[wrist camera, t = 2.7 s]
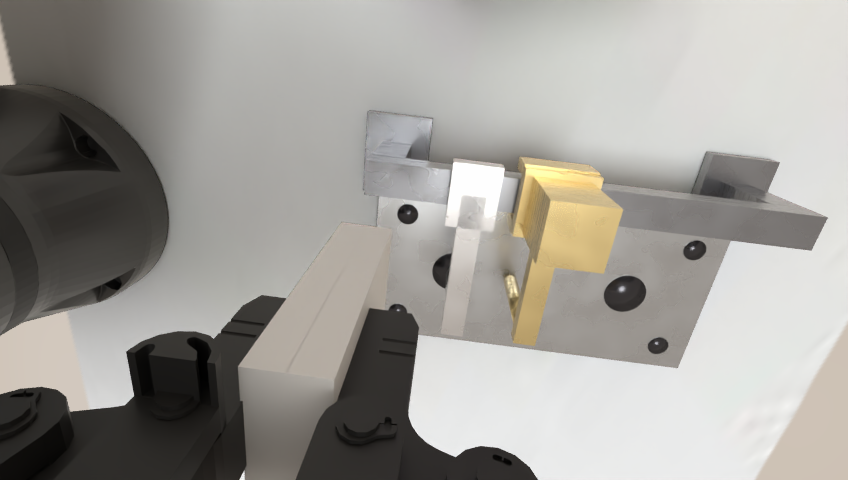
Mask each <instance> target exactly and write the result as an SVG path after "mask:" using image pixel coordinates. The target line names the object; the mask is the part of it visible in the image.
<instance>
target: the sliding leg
mask: <svg viewBox="0 0 848 480" xmlns="http://www.w3.org/2000/svg"><path fill="white" fill-rule="evenodd" d="M517 168H518V170H519V171H520V173H521V175H522V176H521V181H520V186H519V190H518V195H517V200H516V205H515V210H514V213H508V218H507V224H508V227H509V230H510V233H511V234H512V236H514V237H521V238H525V240H526V243H527V245H528V248H529V250H530V252H529V256H528V261H527V265H526V270H525V274H524V278H523V283H522V287H521V292H520V289H519V286H518V282H517V279H516V277H514V276H512V275H509V276H506V277H505V278H504V286H505V290H506V294H507V299H508V303H509V307H510V311H511V316H512V320H513V327H512V332H511V336H512V340H513V343H516V344H523V345H531V346H535V344H536V340H537V336H538V332H539V328H540V324H541V320H542V316H543V312H544V308H545V304H546V300H547V296H548V292H549V288H550V284H551V281H552V277H553V273H554V269H555V268H562V269H569V270H577V271H585V272H593V273H601V274H604V272H605V268H606V265H607V262H608V258H609V255H610V252H611V249H612V245H613V242H614V239H615V235H616V232H617V229H618V226H619V222H620V219H621V216H622V212H623V209H622V208H621V207H620V206H619V205H618V204H617V203H615V202H614V201H613V200H612V199H611V198H610V197H608V196H607V195H606V194H605V193H604V192H603V191H601V188H602V184H603V180H604V178H603V177H601V176H600V173H599V172H598V171H597V170H595V169H594V168H593V167H591V166H590V165H584V164H576V163H568V162H560V161H552V160H544V159H536V158H528V157H519V162H518V167H517Z"/></svg>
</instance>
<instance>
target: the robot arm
mask: <svg viewBox="0 0 848 480" xmlns="http://www.w3.org/2000/svg"><path fill="white" fill-rule="evenodd" d="M167 229H168V216H167V207H166V202H165V198H164V194H163V191H162V188H161V185H160V182H159V180H158V178H157V175H156V173H155V171H154V169H153V168H152V166H151V164H150V162H149V161H148V159H147V157H146V156H145V154H144V153H143V152H142V150H141V149H140V147H139V146H138V145H137V144H136V142H135V141H134V140H133V139H132V138H131V137H130V136H129V134H128V133H127V132H126V131H125V130H124V129H123V128H122V127H121V126H119V125H118V124H117V123H116V122H115V121H114V120H113V119H111V118H110V117H109V116H107V115H106V114H105V113H103V112H102V111H101V110H99V109H98V108H96V107H94V106H93V105H91V104H90V103H88V102H86V101H84V100H82V99H80V98H78V97H76V96H74V95H71V94H69V93H66V92H64V91H60V90H57V89H54V88H50V87H45V86H39V85H3V86H0V335H2V334H4V333H5V332H7V331H9V330H10V329H12V328H14V327H16V326H17V325H19V324H21V323H23V322H26V321H30V320H34V319H37V318H41V317H45V316H49V315H53V314H56V313H60V312H63V311H68V310H72V309H75V308H79V307H83V306H87V305H90V304H94V303H98V302H101V301H104V300H107V299H109V298H111V297H113V296H115V295H117V294H119V293H121V292H122V291H124V290H125V289H127V288H128V287H130V286H131V285H133V284H134V283H135V282H137V281H138V280H140V279H141V278H142V277H144V276H145V275H146V274H147V273H148V272H149V271H150V270H151V269H152V268H153V267H154V265H155V264H156V263H157V261H158V259H159V258H160V256H161V253H162V251H163V248H164V246H165V242H166V237H167ZM391 236H392V229H391V228H383V227H375V226H368V225H360V224H352V223H344V222H341V224H340V225H339V226H338V228H337V229H336V231H335V232H334V233H333V235H332V236H331V238H330V239H329V240H328V242H327V243H326V244H325V246H324V247H323V249H322V250H321V251H320V253H319V254H318V256H317V257H316V258H315V260H314V261H313V263H312V264H311V265H310V267H309V268H308V270H307V271H306V272H305V274H304V275H303V277H302V278H301V279H300V281H299V282H298V284H297V285H296V286H295V288H294V289H293V290H292V292H291V293H290V295H289V296H288V297H287V299H286V298H279V297H271V296H264V295H261V296H260V297H258V298H256V299H254V300H252V301H250V302H249V303H247V304H245V305H243V306H242V307H241V309H240V310H239V311H238V312H237V313H236V314H235V315H234V316H233V318H232V319H231V322H228V323H227V324H226V326H225V327H224V328H223V329H222V330H221V334H218V335H217V336H216V337H215V338H214V339H213V338H212V337H211V336H209V335H206V334H202V333H198V332H182V331H178V332H172V333H167V334H161V335H158V336H155V337H152V338H150V339H147V340H145V341H142V342H140V343H139V344H137V345H136V346H134V347H133V348H131V349H130V350H128V351H126V353H127V358H128V364H129V369H130V375H131V380H132V386H133V391H134V397H133V398H132V399H131V400H130V401H129V402H128V403H127V404H126V405H124V406H119V407H111V408H102V409H92V410H84V411H73V412H70V411H69V406H68V402H67V399H66V397H65V396H64V395H63V394H62V393H60V392H59V391H58V390H55V389H50V388H44V387H36V388H26V389H18V390H15V391H11V392H7V393H4V394H0V480H239V479H240V477H241V475H242V473H243V471H244V470H245V480H538V479H537V478H536V476H535V475H534V473H533V472H532V470H531V469H530V467H529V466H527V465H526V464H525V463H524V462H523V461H521V460H520V459H519V458H518V457H516V456H515V455H513V454H511V453H508V452H506V451H504V450H501V449H499V448H493V447H484V446H479V447H475V448H471V449H467V450H465V451H463V452H462V453H461V454H459V455H458V456H457V457H453V456H451V455H449V454H447V453H444V452H442V451H440V450H438V449H436V448H434V447H433V446H431V445H429V444H427V443H426V442H425V441H424V440H423V439H422V438H421V437H419V436H418V434H417V433H416V432H415V430H414V429H413V427H412V425H411V423H410V420H409V417H408V409H409V402H410V394H411V387H412V379H413V372H414V364H415V356H416V348H417V340H418V332H419V326H418V324H417V322H416V320H415V319H414V317H413V315H412V314H411V313H404V312H396V311H388V310H385V302H386V291H387V280H388V269H389V258H390V247H391Z"/></svg>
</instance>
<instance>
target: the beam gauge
mask: <svg viewBox="0 0 848 480" xmlns="http://www.w3.org/2000/svg"><path fill="white" fill-rule="evenodd" d="M432 123H433V118H428V117H420V116H412V115H404V114H395V113H387V112H379V111H371V110H370V111H368V116H367V133H366V149H365V166H364V183H363V190H364V194H365V195H373V196H381V197H389V198H397V199H405V200H413V201H421V202H429V203H436V204H444V205H447V209H446V216H445V226H449V227H456V229H455V235H454V242H453V249H452V255H451V262H450V269H448V270H447V271H446V288H445V302H444V309H443V315H442V322H441V334H446V335H454V336H463V330H464V325H465V319H466V313H467V307H468V302H469V296H470V290H471V285H472V279H473V273H474V267H475V262H476V256H477V250H478V244H479V239H480V233H481V231H489V232H493V229H494V224H495V219H496V213H497V211H500V212H508V213H514V210H515V205H516V200H517V195H518V190H519V186H520V181H521V176H522V175H521V173H520V172H512V171H504V170H505V168H504V166H503V164H497V163H489V162H481V161H473V160H464V159H456V158H454V159H453V164H447V163H439V162H431V161H428V157H429V149H430V140H431V131H432ZM779 163H780V162H777V161H774V160H769V159H761V158H753V157H745V156H737V155H729V154H721V153H712V152H706V155H705V158H704V161H703V163H702V166H701V169H700V172H699V174H698V177H697V180H696V183H695V186H694V188H693V191H692V194H689V193H680V192H672V191H664V190H656V189H648V188H640V187H632V186H624V185H616V184H608V183H603V184H602V188H601V191H603V192H604V193H605V194H606V195H607V196H608V197H610V198H611V199H612V200H613V201H614V202H615V203H617V204H618V205H619V206H620V207H621V208H622V209H623V212H622V216H621V219H620V222H619V226H620V227H628V228H636V229H644V230H652V231H660V232H668V233H676V234H684V235H691V236H699V237H707V238H715V239H723V240H731V241H739V242H747V243H755V244H763V245H771V246H779V247H787V248H795V249H803V250H812V248H813V246H814V244H815V242H816V240H817V238H818V236H819V234H820V232H821V230H822V228H823V226H824V224H825V222H826V220H827V218H828V217H826V216H823V215H821V214H818V213H816V212H814V211H811V210H809V209H806V208H804V207H801V206H799V205H797V204H794V203H792V202H789V201H787V200H785V199H782V198H780V197H777V196H775V195H772V194H770V193H768V192H767V191H768V189H769V187H770V184H771V182H772V180H773V177H774V175H775V173H776V170H777V168H778V166H779Z"/></svg>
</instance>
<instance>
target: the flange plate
mask: <svg viewBox="0 0 848 480" xmlns="http://www.w3.org/2000/svg"><path fill="white" fill-rule="evenodd" d="M446 209H447V205H444V204H436V203H429V202H421V201H413V200H405V199H397V198H389V197H381V196H379V202H378V215H377V227H383V228H391V229H392V236H391V247H390V258H389V269H388V280H387V291H386V302H385V310H388V311H396V312H404V313H411V314H412V315H413V317H414V319H415V320H416V322H417V324H418V326H419V332H418V335H426V336H433V337H441V338H449V339H457V340H464V341H472V342H480V343H488V344H495V345H503V346H511V347H519V348H526V349H534V350H542V351H549V352H557V353H565V354H573V355H580V356H588V357H596V358H604V359H611V360H619V361H627V362H634V363H642V364H650V365H658V366H665V367H673V368H678V366H679V364H680V361H681V359H682V356H683V354H684V352H685V349H686V347H687V344H688V342H689V340H690V337H691V335H692V332H693V330H694V328H695V325H696V323H697V320H698V318H699V316H700V313H701V311H702V308H703V306H704V304H705V301H706V299H707V296H708V294H709V292H710V289H711V287H712V284H713V282H714V280H715V277H716V275H717V272H718V270H719V268H720V265H721V263H722V260H723V258H724V256H725V253H726V251H727V248H728V246H729V244H730V241H731V240H723V239H715V238H707V237H699V236H691V235H684V234H676V233H668V232H660V231H652V230H644V229H636V228H628V227H620V226H618V229H617V232H616V235H615V239H614V242H613V245H612V249H611V252H610V255H609V258H608V262H607V265H606V268H605V272H604V274H601V273H593V272H585V271H577V270H569V269H562V268H555V269H554V273H553V277H552V281H551V284H550V288H549V292H548V296H547V300H546V304H545V308H544V312H543V316H542V320H541V324H540V328H539V332H538V336H537V340H536V344H535V346H531V345H523V344H516V343H513V340H512V336H511V332H512V327H513V320H512V316H511V311H510V307H509V303H508V299H507V294H506V290H505V286H504V278H505V277H506V276H509V275H512V276H514V277H516V279H517V282H518V286H519V289H520V292H521V287H522V283H523V278H524V274H525V270H526V265H527V261H528V256H529V252H530V250H529V248H528V245H527V243H526V240H525V238H521V237H514V236H512V234H511V233H510V230H509V227H508V224H507V218H508V212H500V211H497V213H496V219H495V224H494V229H493V232H489V231H481V233H480V239H479V244H478V250H477V256H476V262H475V267H474V273H473V279H472V285H471V290H470V296H469V302H468V307H467V313H466V319H465V325H464V330H463V336H454V335H446V334H441V322H442V315H443V309H444V302H445V288H446V271H447V270H448V269H450V262H451V255H452V249H453V242H454V235H455V229H456V227H449V226H445V216H446Z"/></svg>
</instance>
